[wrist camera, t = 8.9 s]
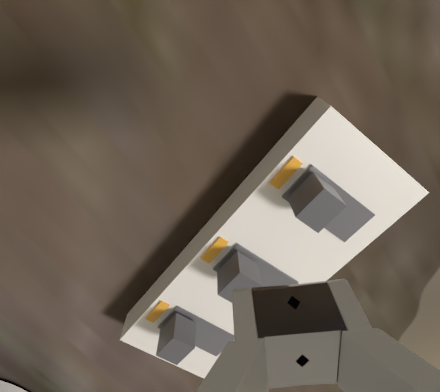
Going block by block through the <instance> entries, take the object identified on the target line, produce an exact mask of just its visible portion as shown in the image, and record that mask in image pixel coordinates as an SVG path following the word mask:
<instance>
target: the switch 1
mask: <svg viewBox="0 0 440 392" xmlns="http://www.w3.org/2000/svg"><path fill="white" fill-rule="evenodd" d="M261 286H262V283H261V278H260V273H259V267H258V263H257V262H255V261H254V260H252V259H250V258H249V257H247V256H246V255H244V254H242V253H241V252H239V251H238V250H237V251H236V252H235V253H234V254H233V255H232V256H231V257H230V259H229V260H228V261H227V262H226V263H225V264H224V265H223V266H222V267H221V268H220V269H219V270H218V271H217V291H218V295H219V296H221V297H222V298H224V299H226V300H228V301H230V302H231V303H232V289H244V288H252V287H261Z"/></svg>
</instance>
